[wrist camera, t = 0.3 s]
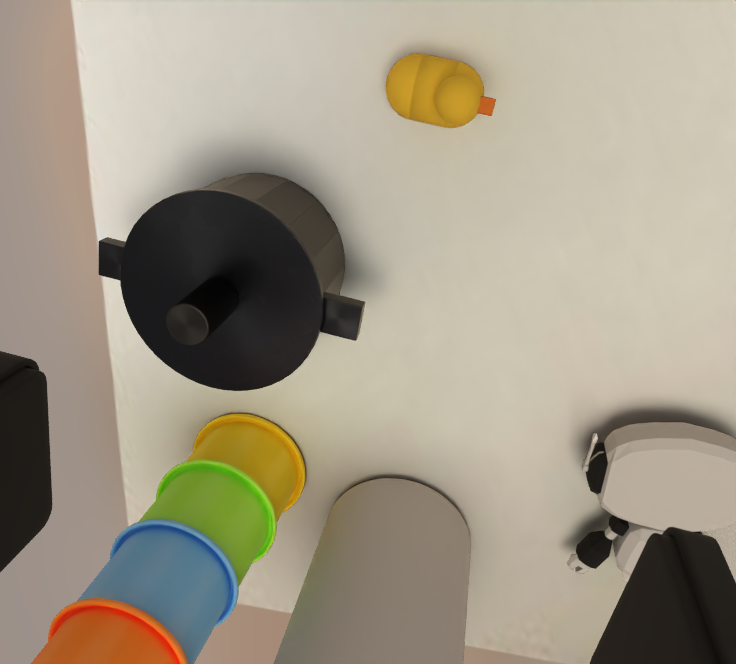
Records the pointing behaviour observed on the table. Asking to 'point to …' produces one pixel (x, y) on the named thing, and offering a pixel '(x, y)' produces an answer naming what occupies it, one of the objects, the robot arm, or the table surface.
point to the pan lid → (222, 289)
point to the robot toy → (656, 488)
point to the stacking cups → (185, 551)
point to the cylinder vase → (384, 581)
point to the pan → (310, 227)
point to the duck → (436, 91)
